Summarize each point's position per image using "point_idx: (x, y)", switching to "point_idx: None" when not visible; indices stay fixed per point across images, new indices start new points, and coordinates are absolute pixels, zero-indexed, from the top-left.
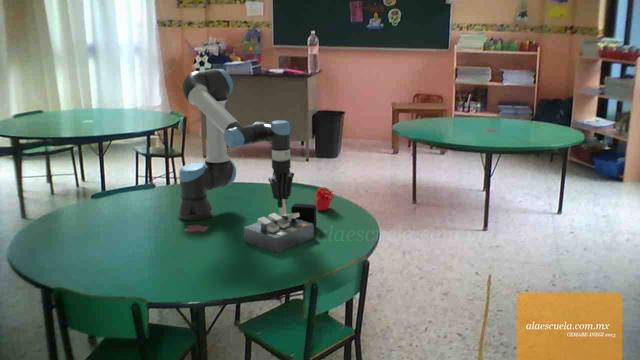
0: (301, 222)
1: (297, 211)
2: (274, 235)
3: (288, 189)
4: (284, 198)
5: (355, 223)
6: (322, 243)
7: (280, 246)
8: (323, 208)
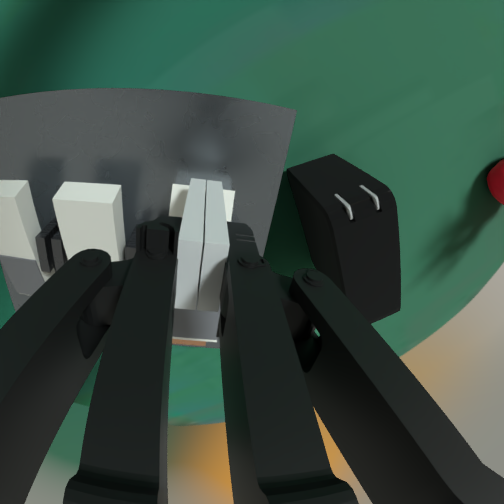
0: None
1: (324, 240)
2: (22, 296)
3: (309, 387)
4: (219, 301)
5: (407, 324)
6: (204, 347)
7: None
8: (493, 193)
